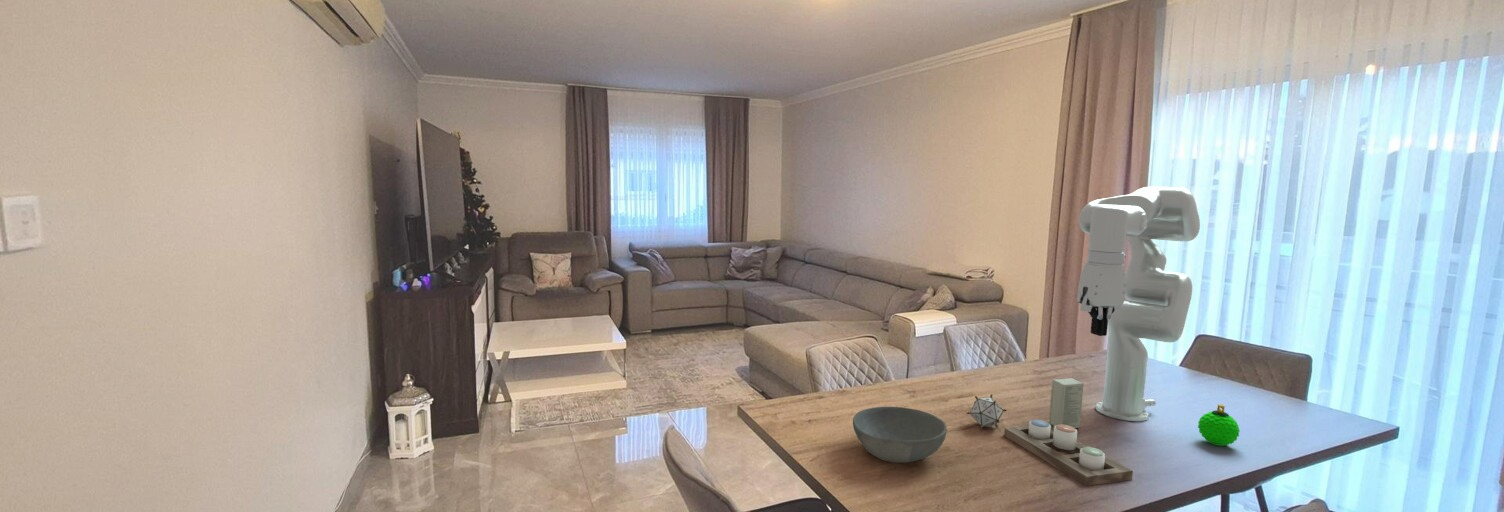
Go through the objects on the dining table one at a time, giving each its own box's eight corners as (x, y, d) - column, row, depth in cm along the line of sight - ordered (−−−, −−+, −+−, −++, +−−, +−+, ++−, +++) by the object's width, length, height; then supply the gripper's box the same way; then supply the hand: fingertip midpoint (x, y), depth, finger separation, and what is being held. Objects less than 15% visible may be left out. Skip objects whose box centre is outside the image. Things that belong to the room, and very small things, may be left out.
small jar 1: (1039, 434, 152) (1041, 418, 151) (1054, 442, 147) (1055, 425, 147) (1023, 436, 150) (1024, 419, 150) (1037, 444, 146) (1038, 427, 145)
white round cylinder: (1091, 463, 136) (1092, 445, 136) (1108, 473, 132) (1110, 454, 131) (1073, 465, 135) (1075, 447, 135) (1090, 475, 131) (1092, 456, 130)
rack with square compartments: (1044, 431, 155) (1044, 423, 155) (1132, 479, 130) (1133, 470, 130) (1004, 435, 152) (1004, 427, 152) (1086, 485, 127) (1087, 476, 127)
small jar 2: (1064, 440, 144) (1066, 422, 143) (1080, 449, 139) (1082, 431, 139) (1047, 442, 143) (1049, 424, 142) (1063, 450, 138) (1064, 432, 137)
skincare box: (1068, 421, 162) (1072, 377, 161) (1080, 428, 158) (1084, 383, 156) (1047, 423, 161) (1051, 378, 159) (1059, 430, 156) (1063, 384, 155)
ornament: (1188, 440, 152) (1193, 401, 151) (1209, 435, 155) (1213, 397, 154) (1224, 453, 145) (1229, 413, 143) (1245, 448, 148) (1250, 409, 146)
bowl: (929, 486, 125) (931, 449, 124) (835, 460, 136) (837, 426, 135) (954, 449, 143) (956, 417, 142) (870, 429, 154) (872, 398, 153)
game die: (991, 442, 156) (1011, 422, 150) (960, 428, 158) (977, 407, 151) (994, 416, 163) (1013, 395, 156) (964, 402, 164) (981, 381, 158)
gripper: (1117, 256, 149) (1110, 329, 152) (1067, 257, 145) (1060, 332, 148) (1144, 260, 142) (1136, 337, 144) (1092, 261, 138) (1085, 340, 140)
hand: (1098, 334), depth 146 cm, fingers closed
